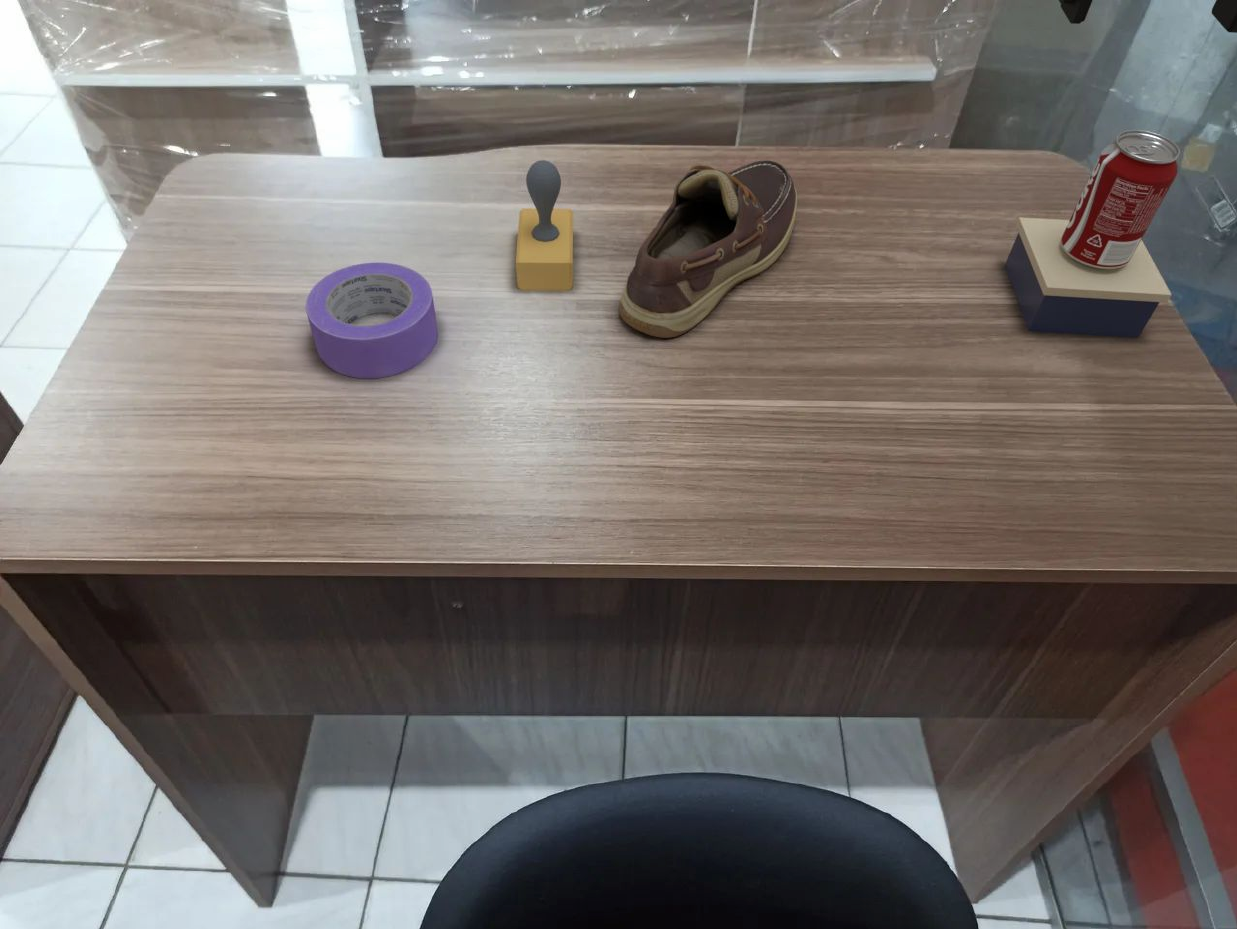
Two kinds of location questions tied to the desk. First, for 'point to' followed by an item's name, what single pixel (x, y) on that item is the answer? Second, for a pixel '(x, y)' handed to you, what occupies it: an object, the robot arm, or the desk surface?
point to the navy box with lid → (1080, 286)
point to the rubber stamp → (544, 234)
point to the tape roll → (377, 344)
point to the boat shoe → (708, 245)
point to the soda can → (1121, 199)
